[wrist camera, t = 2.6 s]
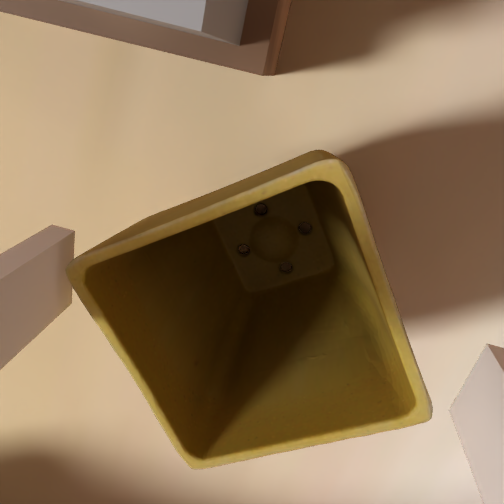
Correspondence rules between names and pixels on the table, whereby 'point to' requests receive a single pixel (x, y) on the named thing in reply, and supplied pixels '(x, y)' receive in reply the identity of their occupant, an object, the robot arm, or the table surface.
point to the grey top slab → (181, 15)
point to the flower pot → (258, 317)
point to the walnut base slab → (174, 32)
